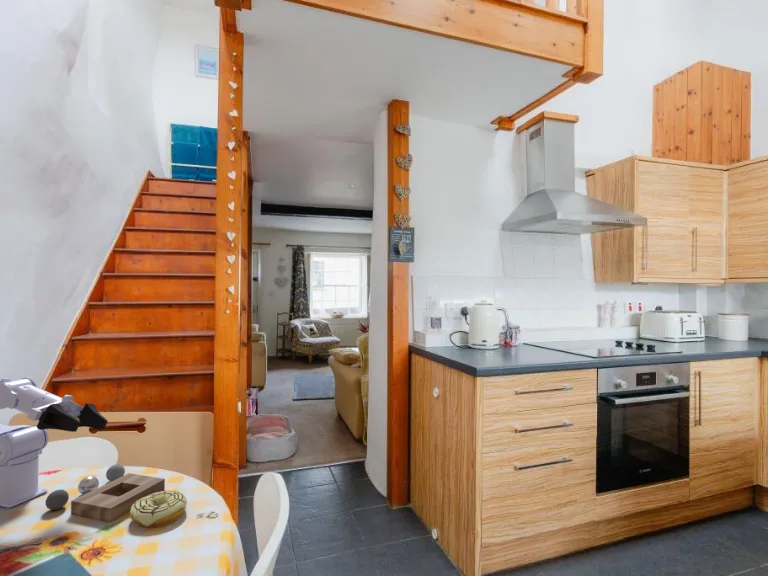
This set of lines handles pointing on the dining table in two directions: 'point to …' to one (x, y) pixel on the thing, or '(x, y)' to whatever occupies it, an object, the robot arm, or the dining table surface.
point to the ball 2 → (115, 472)
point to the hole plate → (115, 497)
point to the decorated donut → (158, 509)
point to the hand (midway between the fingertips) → (91, 426)
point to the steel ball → (88, 484)
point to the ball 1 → (57, 499)
